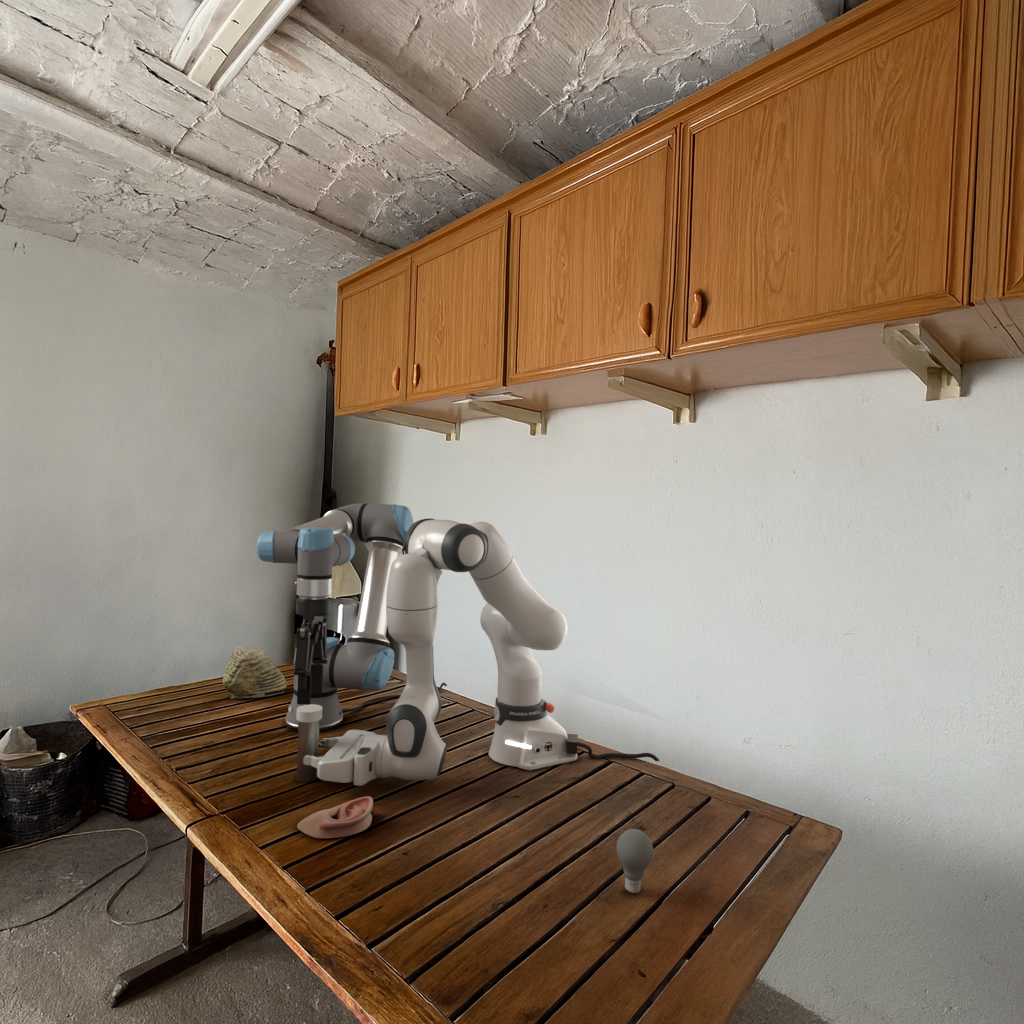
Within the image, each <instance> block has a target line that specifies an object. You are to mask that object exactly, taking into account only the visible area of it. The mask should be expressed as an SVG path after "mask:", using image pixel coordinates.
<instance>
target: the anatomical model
mask: <svg viewBox="0 0 1024 1024" xmlns="http://www.w3.org/2000/svg"><path fill="white" fill-rule="evenodd" d="M373 805H374V799H373V797H372V796H362V797H357V798H355V799H352V800H348V801H346V802H343V803H341V804H338V805H336V806H334V807H331V808H326V809H322V810H319V811H316V812H313V813H312V814H310V815H307V816H306V817H304V818H303V819H301V820H300V821H299V822H298V823H297V825H296V828H297V829H298V830H299V831H300V832H301V833H304V835H306V836H309V837H312V838H314V839H319V840H320V839H334V838H335V839H337V838H342V837H348V836H353V835H356V834H358V833H361V832H363V831H365V830H367V829H368V828H369V827H370V826H371V824H372V821H373V815H372V813H371V812H372V810H373Z"/></svg>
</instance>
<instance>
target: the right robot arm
mask: <svg viewBox="0 0 1024 1024" xmlns="http://www.w3.org/2000/svg"><path fill="white" fill-rule="evenodd" d="M443 570H445V571H452V572H453V573H454V572H455V573H467V572H468V573H469V574H470V576H471V579H472V580H473V582H474V584H475V586H476V588H477V589H478V591H479V593H480V595H481V597H482V598H483V600H484V601H485V602H486V603H485V604H484V606H483V608H482V610H481V612H480V618H479V620H480V621H479V623H480V626H481V629H482V630H483V631H484V633H485V634H486V636H487V638H488V639H489V641H490V643H491V646H492V649H493V653H494V656H495V660H496V665H497V697H496V698H495V704H494V715H493V716H494V722H495V723H494V730H493V735H492V740H491V743H490V747H489V750H488V752H487V753H488V756H489V758H490V759H491V760H492V761H494V762H496V763H499V764H502V765H505V766H508V767H509V766H510V767H517V768H519V769H522V770H526V771H534V770H538V769H543V768H548V767H551V766H556V765H560V764H565V763H571V762H574V761H577V760H578V747H580V748H584V749H585V750H587V753H588V754H587V755H588V756H589V757H590V758H592V759H596V760H598V759H606V758H607V759H608V758H621V759H622V758H623V759H641V758H642V759H643V758H651V759H652V760H654V761H655V762H660V758H658V757H657V756H656V755H655V754H653V753H651V752H640V753H623V752H608V753H602V754H594V753H593V748H592V747H591V746H590V745H588V744H586V743H583V742H580V741H579V740H578V739H579V737H578V736H579V735H578V734H577V733H568V732H567V731H566V729H565V728H564V727H563V726H562V725H561V724H560V723H559V722H558V721H557V720H555V719H554V718H553V717H552V716H551V715H549V714H552V713H554V711H555V709H556V708H555V706H554V705H553V704H552V703H550V702H548V701H546V700H544V699H542V687H543V686H542V685H543V671H542V668H541V666H540V664H539V663H538V662H537V660H536V659H535V658H534V656H533V654H532V651H531V650H534V651H554V650H555V651H556V650H557V649H559V648H560V647H561V646H562V645H563V643H564V642H565V640H566V639H567V638H566V637H567V634H568V622H567V619H566V617H565V616H564V614H563V613H562V612H560V611H559V610H557V609H556V608H555V607H553V606H552V605H550V604H549V603H548V602H547V601H546V600H545V599H544V598H543V597H542V596H541V594H539V592H537V591H536V590H535V589H534V587H533V586H532V585H531V584H530V583H529V581H528V580H527V578H525V576H524V575H523V572H522V570H521V568H520V567H519V565H518V563H517V561H516V559H515V557H514V555H513V553H512V551H511V549H510V548H509V546H508V544H507V542H506V541H505V540H504V538H503V536H502V535H501V534H500V533H499V531H498V530H497V528H495V526H493V524H491V523H489V522H488V521H476V522H472V523H471V524H468V523H462V522H458V521H456V520H451V519H435V518H432V517H431V518H422V519H419V520H417V521H414V522H413V524H412V525H411V526H410V528H409V529H408V531H407V533H406V536H405V540H404V546H403V548H402V554H400V555H399V556H398V557H397V558H396V559H395V560H394V561H393V563H392V565H391V569H390V573H389V579H388V585H387V596H386V619H387V630H388V634H389V636H390V637H391V638H392V639H393V640H394V641H395V642H397V643H398V644H401V645H403V647H404V649H405V663H406V664H405V666H406V667H405V668H406V669H405V670H406V681H405V686H404V688H403V690H402V692H401V694H400V695H401V696H400V697H398V699H397V700H396V702H395V703H394V704H393V706H392V707H391V709H390V710H389V712H388V714H387V717H386V721H385V727H386V728H385V730H386V734H377V733H375V732H373V731H368V730H361V729H349V730H347V731H346V732H345V733H344V734H343V735H342V736H335V737H323V738H322V739H321V740H319V748H322V749H329V748H330V749H329V750H328V751H327V752H326V753H325V754H324V755H323V756H318V757H315V756H314V754H307V755H306V756H305V757H304V758H303V764H304V765H311V766H313V767H315V768H317V778H318V779H319V780H321V781H325V782H332V783H339V784H340V783H342V784H348V783H352V782H353V786H357V787H362V786H364V785H366V784H368V783H369V782H371V781H373V780H377V778H380V779H382V778H383V779H388V778H397V779H400V780H403V781H404V780H405V781H430V780H435V779H436V778H438V777H439V776H440V775H441V773H442V771H443V768H444V765H445V762H446V758H447V752H448V746H447V743H446V742H444V740H443V739H442V737H441V736H440V735H439V733H438V731H437V728H436V725H435V721H436V719H437V718H438V716H439V715H440V713H441V711H442V705H443V700H442V696H441V693H440V691H438V688H439V687H438V686H437V684H436V679H435V673H434V672H435V669H434V668H435V666H434V665H435V664H434V639H435V633H436V628H437V619H438V597H439V596H438V584H439V580H440V577H441V575H442V573H443Z"/></svg>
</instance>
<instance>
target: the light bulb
mask: <svg viewBox="0 0 1024 1024" xmlns="http://www.w3.org/2000/svg"><path fill="white" fill-rule="evenodd" d="M615 849H616V854H617V857H618V859H619V861H620V863H621V865H622V867H623V873H624V874H623V875H624V876H625V878H624V888H625V890H627V891H628V892H630V893H634V894H635V893H639V892H640V891H641V889H642V887H641V886H642V879H643V877H644V875H645V871H646V868H647V867H648V866H649V864H650V863H651V861H652V859H653V855H654V847H653V843H652V841H651V838H649V836H648V835H647V834H646V833H645V832H643V831H642V830H641V829H636V828H629V829H627V830H625V831H623V832H622V833H621V834H620V835H619V837H618V839H617V841H616V847H615Z"/></svg>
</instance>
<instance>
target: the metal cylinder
mask: <svg viewBox="0 0 1024 1024" xmlns="http://www.w3.org/2000/svg"><path fill="white" fill-rule="evenodd" d="M319 724H320V720H318V721H315V722H300V721H299V725H298V731H297V753H296V755H297V756H296V781H298V782H300V783H309V782H313V781H316V780H317V778H318V777H317V768H315V767H313V766H311V765H304V764H303V758H304V757H305V756H306V755H307V754H314V756H315V757H318V758H319V749H320V731H319Z"/></svg>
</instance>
